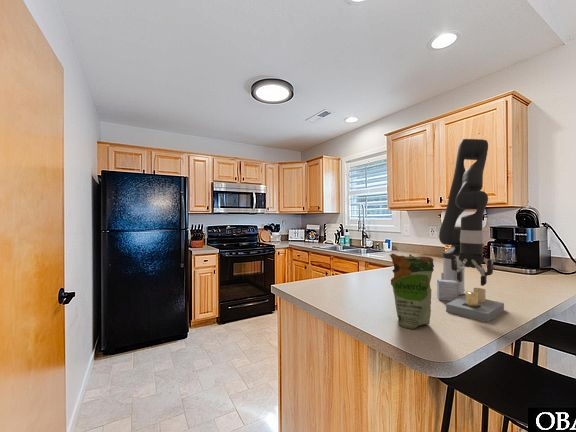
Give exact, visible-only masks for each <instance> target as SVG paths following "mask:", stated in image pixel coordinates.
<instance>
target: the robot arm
mask: <svg viewBox="0 0 576 432" xmlns="http://www.w3.org/2000/svg"><path fill="white" fill-rule="evenodd" d="M488 152H489V142H488V140H486V139H481V138H479V139H478V138H462V139H461V141H460V142H459V145H458V148H457V155H456V161H455V167H454V174H453V178H452V180H451V181H452V182H451V186H450V190H449V194H448V198H447V199H448V200H447V205H446V209H445V212H444V213H445V214H444V216H443V219H442V223H441V226H440V229H439V234H438V238H439V242H440V243H441V244H443V245H445V246H450V247H449V248H448V249H447V250H445V251H443V253H442V272H441V274H440V276H441V277H440V278H441V279H440V280H453V281H457V282H458V283H459V296H464V295H465V292H466V290H465V268H473V269H476V270H477V272H479V274H480V286H482V287H484V286H485V285H486V284H487V277H488V276H491V275H493V274H494V272H493V271H494V259H492V258H485V257H484V233H483V218H484V214H485V211H486V207H487V205H488V201H489V196H488V194H487V193H486V192H485V191H483V190H482V189H483V184H484V182H483V181H484V170H485V165H486V163H487V162H486V161H487V156H488ZM465 160H468V161H475V162H474V163H473V164H471V165H470V166H468V168H465V167H466V166H465ZM466 210H476V211H475V212H474V213H473V214H472V213H471V214H467V215H462V216H461V214H463V213H464V211H466ZM460 216H461V218H460V226H458V225H457V226H456V224H457V221H458V219H459V217H460ZM483 263H485V265H486V270H485V268H484V266H483V265H482V264H483Z"/></svg>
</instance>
